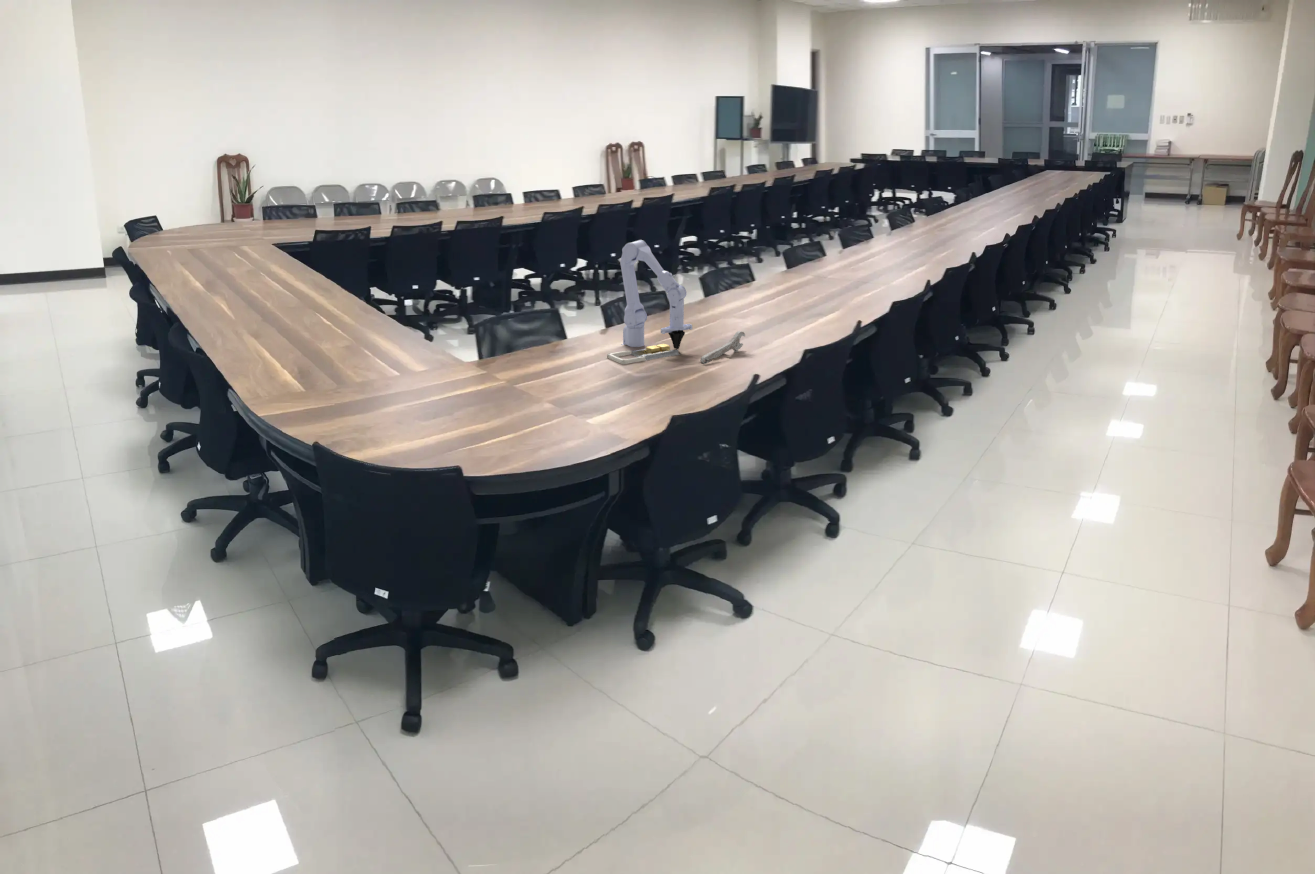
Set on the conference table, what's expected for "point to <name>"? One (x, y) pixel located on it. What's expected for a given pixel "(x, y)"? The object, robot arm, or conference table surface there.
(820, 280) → the conference table surface
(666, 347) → the chip
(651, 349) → the chip
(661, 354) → the slot board
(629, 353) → the grey rectangular frame
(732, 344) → the wrench
